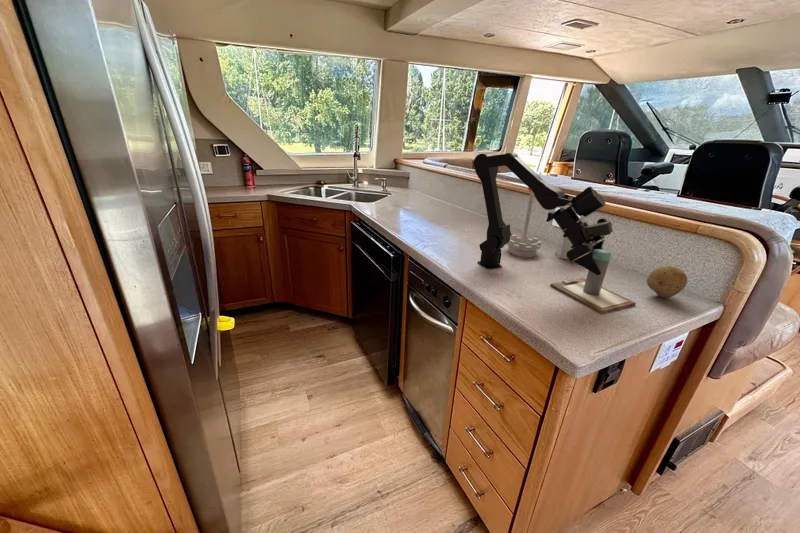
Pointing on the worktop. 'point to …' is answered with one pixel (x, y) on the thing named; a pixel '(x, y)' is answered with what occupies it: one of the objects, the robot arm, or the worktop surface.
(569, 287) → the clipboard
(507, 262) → the worktop surface
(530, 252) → the flag stand
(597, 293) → the green-topped grey cylinder
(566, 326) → the worktop surface
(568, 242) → the supplement box
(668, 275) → the brown potato
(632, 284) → the worktop surface
